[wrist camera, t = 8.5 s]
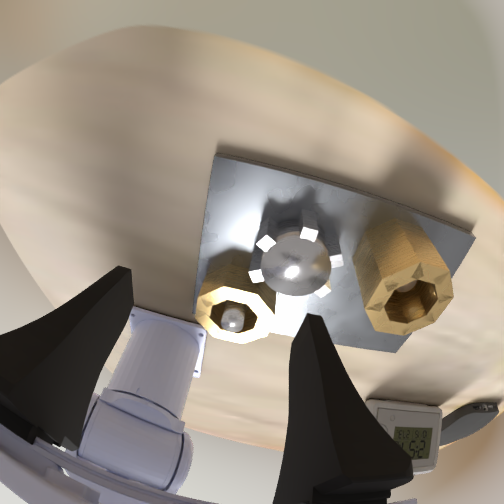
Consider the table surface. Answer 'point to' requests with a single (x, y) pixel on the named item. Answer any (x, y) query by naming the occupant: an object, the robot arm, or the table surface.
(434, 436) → the digital clock
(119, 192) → the table surface
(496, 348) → the table surface
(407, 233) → the brass octagonal sleeve
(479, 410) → the media streaming box
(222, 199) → the plate
